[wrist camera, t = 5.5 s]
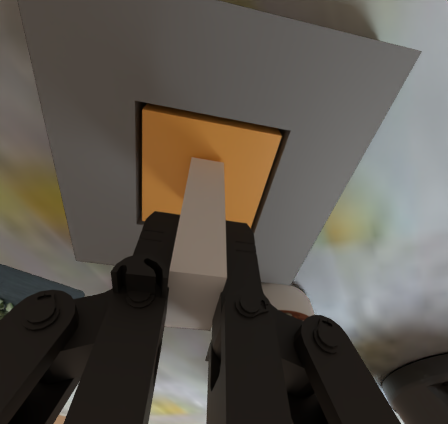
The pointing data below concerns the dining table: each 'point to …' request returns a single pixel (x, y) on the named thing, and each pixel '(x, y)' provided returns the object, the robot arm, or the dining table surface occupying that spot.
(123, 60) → the grey square slab
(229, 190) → the button
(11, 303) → the plated dish
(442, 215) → the dining table surface
